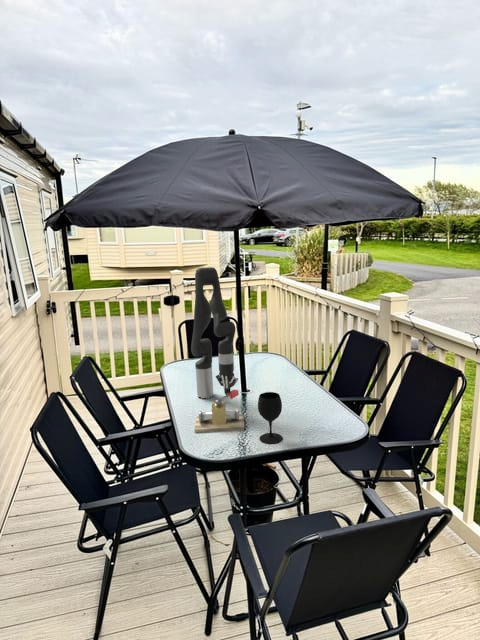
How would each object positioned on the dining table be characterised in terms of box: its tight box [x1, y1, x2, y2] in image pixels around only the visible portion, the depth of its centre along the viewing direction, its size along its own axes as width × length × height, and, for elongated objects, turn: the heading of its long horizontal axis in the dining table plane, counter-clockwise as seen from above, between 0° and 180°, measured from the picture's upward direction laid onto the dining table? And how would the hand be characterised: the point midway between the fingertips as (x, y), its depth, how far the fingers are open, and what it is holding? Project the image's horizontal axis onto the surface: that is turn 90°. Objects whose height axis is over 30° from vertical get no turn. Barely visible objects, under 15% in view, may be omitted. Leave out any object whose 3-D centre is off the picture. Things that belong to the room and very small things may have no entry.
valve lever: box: [214, 389, 239, 406], centre depth 209 cm, size 17×3×3 cm, turn 148°
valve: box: [198, 402, 240, 425], centre depth 204 cm, size 6×19×8 cm, turn 91°
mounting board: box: [193, 413, 245, 433], centre depth 205 cm, size 15×23×2 cm, turn 91°
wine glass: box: [257, 391, 284, 445], centre depth 186 cm, size 10×10×20 cm
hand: (227, 394), depth 215 cm, fingers closed
